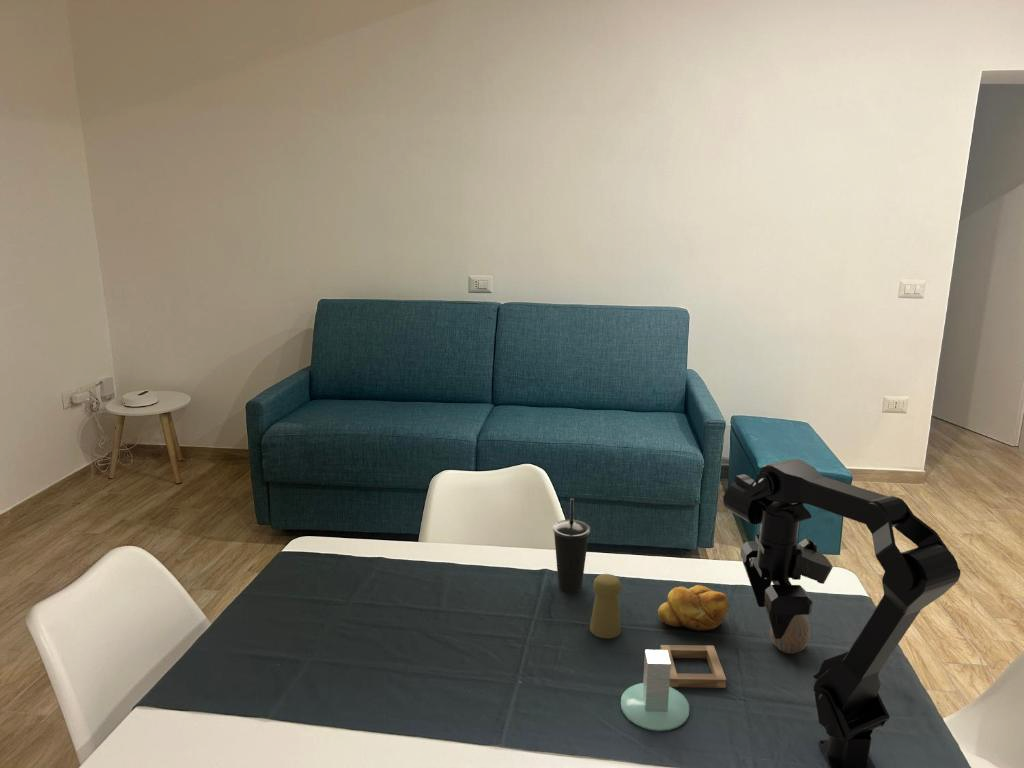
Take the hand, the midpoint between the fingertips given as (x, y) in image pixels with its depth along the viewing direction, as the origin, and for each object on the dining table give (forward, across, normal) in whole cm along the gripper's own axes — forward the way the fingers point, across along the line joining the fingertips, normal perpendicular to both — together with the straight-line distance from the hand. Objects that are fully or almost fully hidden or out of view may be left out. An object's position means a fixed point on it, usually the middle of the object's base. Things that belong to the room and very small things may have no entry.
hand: (769, 621), depth 131 cm
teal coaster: (+13, -5, +19) cm, 23 cm away
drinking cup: (+13, +32, +31) cm, 46 cm away
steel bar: (+12, -5, +19) cm, 23 cm away
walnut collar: (+13, +5, +11) cm, 18 cm away
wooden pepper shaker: (+13, +17, +25) cm, 33 cm away
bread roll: (+13, +20, +8) cm, 26 cm away
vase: (+13, +12, -8) cm, 20 cm away
